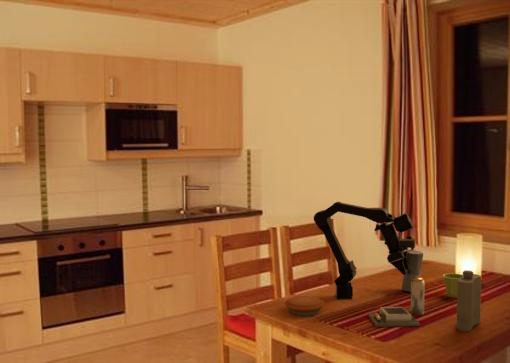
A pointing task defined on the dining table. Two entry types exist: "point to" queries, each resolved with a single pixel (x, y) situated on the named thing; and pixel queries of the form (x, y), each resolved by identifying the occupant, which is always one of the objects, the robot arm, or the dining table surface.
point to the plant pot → (451, 284)
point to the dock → (393, 317)
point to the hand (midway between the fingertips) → (406, 271)
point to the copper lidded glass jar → (417, 295)
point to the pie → (304, 305)
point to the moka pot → (412, 268)
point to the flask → (468, 301)
